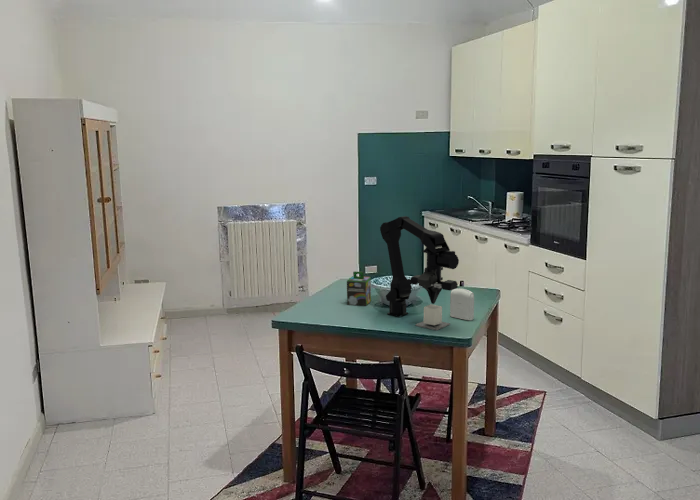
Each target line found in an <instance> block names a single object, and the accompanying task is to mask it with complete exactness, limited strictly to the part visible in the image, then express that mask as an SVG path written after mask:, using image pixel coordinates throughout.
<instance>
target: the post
mask: <svg viewBox="0 0 700 500" xmlns="http://www.w3.org/2000/svg"><path fill="white" fill-rule="evenodd" d="M414 326H415V327H420V328H424V329H429V330H434V331H439V330H441V329H444V328H445V327H448V326H451V323H449V322H445V321H442V323H439V324H437V325H430V324H426V323H424V320H422V321H421V322H418V323H416V324H415V325H414Z"/></svg>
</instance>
